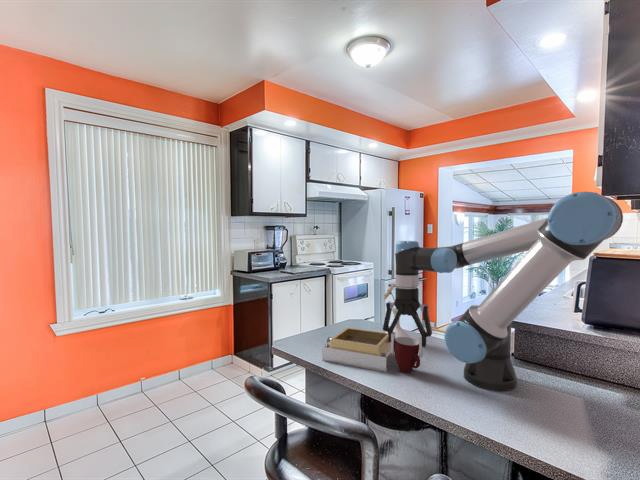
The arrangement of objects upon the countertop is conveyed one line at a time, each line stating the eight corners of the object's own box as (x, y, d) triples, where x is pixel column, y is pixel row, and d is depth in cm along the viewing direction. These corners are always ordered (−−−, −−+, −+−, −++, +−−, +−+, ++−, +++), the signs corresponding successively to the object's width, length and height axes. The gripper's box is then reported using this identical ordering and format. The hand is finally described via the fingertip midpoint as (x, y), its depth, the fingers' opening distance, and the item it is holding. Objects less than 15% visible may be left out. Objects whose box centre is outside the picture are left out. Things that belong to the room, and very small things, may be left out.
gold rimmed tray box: (399, 354, 131) (399, 333, 130) (386, 372, 115) (386, 348, 114) (332, 343, 143) (332, 324, 143) (312, 358, 127) (312, 337, 127)
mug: (428, 375, 113) (430, 346, 112) (410, 380, 108) (413, 350, 108) (404, 363, 121) (406, 335, 121) (387, 367, 117) (389, 338, 116)
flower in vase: (393, 335, 154) (393, 280, 154) (415, 341, 146) (416, 283, 145) (375, 341, 146) (375, 283, 145) (398, 348, 137) (398, 286, 136)
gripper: (442, 287, 113) (441, 355, 113) (379, 283, 122) (379, 345, 123) (438, 291, 106) (438, 363, 107) (372, 286, 116) (372, 352, 116)
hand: (406, 353), depth 115 cm, fingers closed on mug, 9 cm apart
